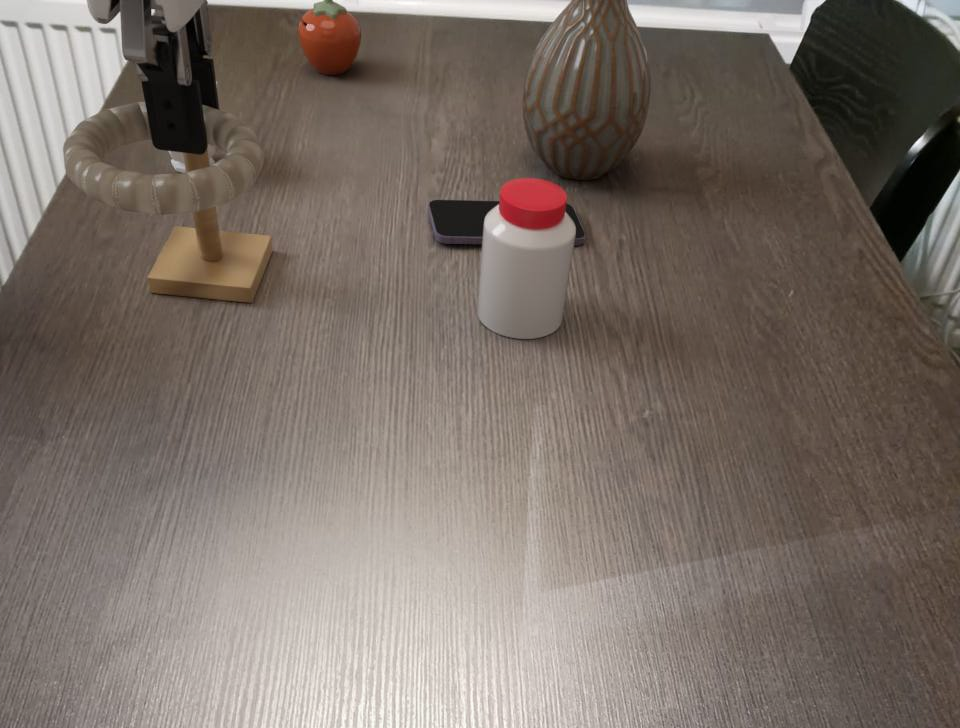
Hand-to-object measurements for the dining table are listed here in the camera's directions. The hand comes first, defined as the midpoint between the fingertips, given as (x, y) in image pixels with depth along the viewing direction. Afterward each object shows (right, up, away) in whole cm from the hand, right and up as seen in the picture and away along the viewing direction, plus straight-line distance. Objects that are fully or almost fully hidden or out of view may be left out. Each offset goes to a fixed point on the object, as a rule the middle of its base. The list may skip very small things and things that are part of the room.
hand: (187, 136), depth 59 cm
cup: (-12, +19, +42) cm, 48 cm away
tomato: (0, +38, +58) cm, 70 cm away
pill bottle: (+21, -2, +28) cm, 35 cm away
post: (-6, +3, +28) cm, 29 cm away
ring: (0, -3, -3) cm, 4 cm away
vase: (+28, +21, +47) cm, 59 cm away
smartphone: (+20, +10, +37) cm, 44 cm away
